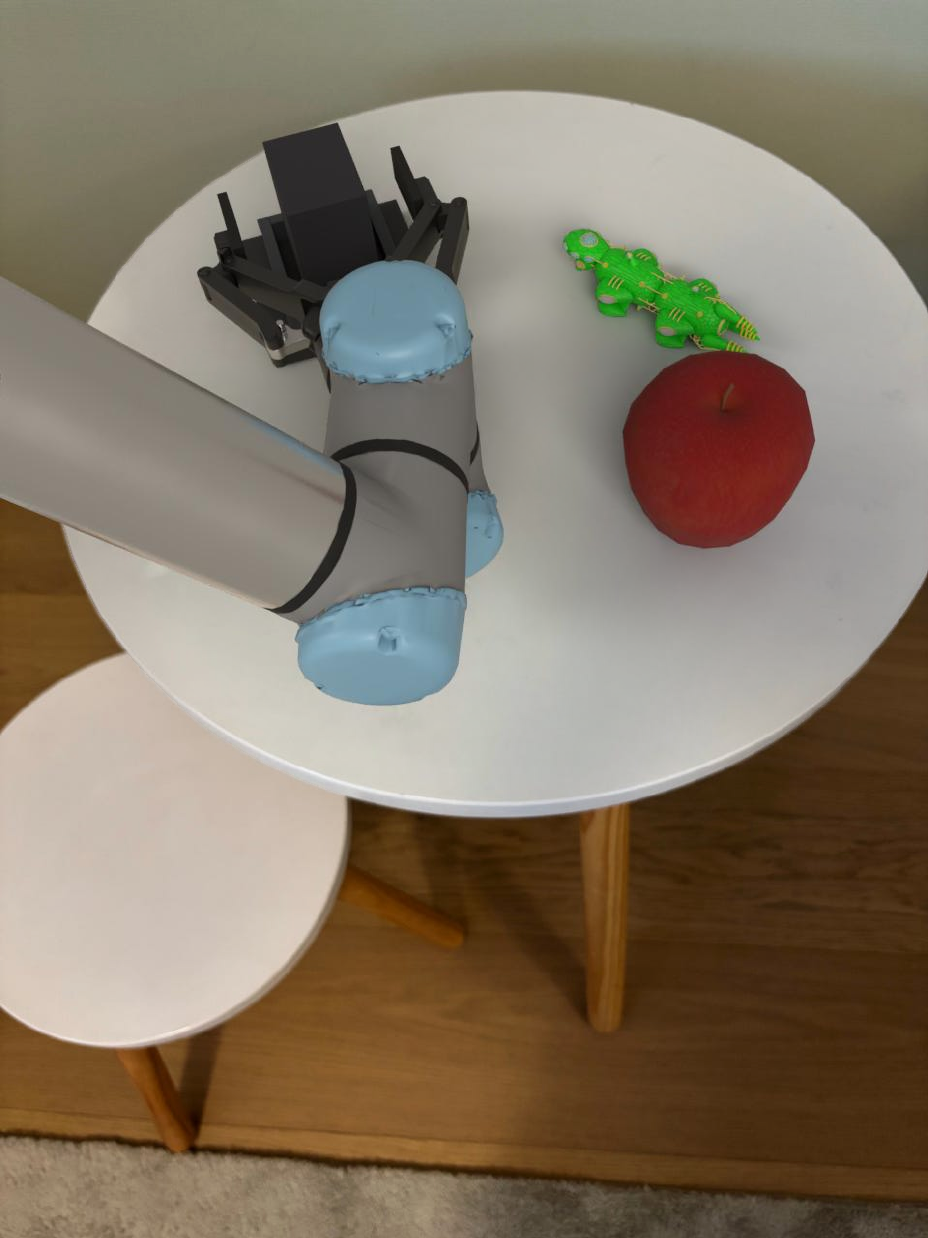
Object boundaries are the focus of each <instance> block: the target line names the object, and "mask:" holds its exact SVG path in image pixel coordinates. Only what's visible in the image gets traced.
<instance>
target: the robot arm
mask: <svg viewBox="0 0 928 1238" xmlns="http://www.w3.org/2000/svg"><path fill="white" fill-rule="evenodd" d="M389 148H390V156H391V157H390V158H391V164H392V169H393V176H394V180H395V182H396V184H397V187H398V190H399V192H400V195H401V196H402V198H403V201H404V203H405V205H406V208H407V210H408V212H409V215H410V217H411V219H412V222H411V224H410V225H409V227H408V231H407V232H406V234H405V235H404V237H403V238H402V240H401V242H400V243H399V245H398V246H397V248H396V250H395V251H394V253H393V254H392V256H387V257H386V258H385V260H384V261H379V262H375V263H371V264H368V265H366V266H363V267H360V268H358V269H356V270H354V271H352V272H351V273H349V274H347V275H346V276H345V277H343V278H342V279H337V280H333V281H329V282H327V286H325V287H322V286H320V285H317V284H315V283H313V282H310V281H308V280H305V279H302V280H301V281H300V282H298V281H296V280H293V279H291V278H289V277H286V276H284V275H281V274H279V273H277V272H274V271H272V270H269V269H267V268H265V267H262V266H260V265H257V264H255V263H253V262H250V261H248V259H247V256H246V253H245V249H244V246H243V243H242V240H243V239H242V236H241V233H240V229H239V226H238V223H237V219H236V217H235V213H234V210H233V208H232V204H231V201H230V198H229V195H228V192H227V191H223V192H219V193H216V197H217V200H218V203H219V206H220V210H221V214H222V217H223V220H224V223H225V227H226V229H225V230H222V231H218V232H215V233H214V235H213V241H214V245H215V248H216V255H217V258H218V263H217V264H216V265H215V266H213V267H212V266H209V265H205V266H202V267H199V269H198V270H197V271H196V276H197V278H198V281H199V283H200V287H201V289H202V292H203V294H204V296H205V299H206V301H207V302H208V304H210V305H211V306H212V307H213V308H215V310H217V311H218V312H220V313H221V314H222V315H223V316H225V317H226V318H227V319H229V320H230V321H231V322H232V323H233V324H235V325H236V326H237V327H238V328H240V330H241V331H243V332H244V333H246V334H247V335H248V336H249V337H250V338H252V339H253V340H254V341H255V342H256V343H258V344H260V346H262V347H263V348H264V349H265V351H266V352H267V355H268V356H269V359H270V361H271V363H272V365H273V366H274V367H275V366H276V367H275V368H285V367H286V366H288V365H289V364H288V363H289V361H290V360H289V356H288V355H289V354H292V353H295V352H297V351H300V350H303V349H305V348H309V349H311V350H312V351H313V352H315V353H316V355H317V356H316V358H317V360H318V363H319V366H320V369H321V372H322V376H323V378H324V381H325V384H326V387H327V391H328V393H329V395H330V397H329V405H328V410H327V418H326V419H327V421H326V427H325V434H324V435H325V436H324V442H323V450H322V451H323V452H322V451H319V450H317V449H316V448H314V447H312V446H310V445H309V444H307V443H306V442H303V441H301V440H299V439H298V438H295V437H293V436H292V435H290V434H288V433H286V432H285V431H283V430H281V429H279V428H278V427H276V426H274V425H272V424H270V423H268V422H267V421H265V420H263V419H261V418H259V417H257V416H256V415H254V414H252V413H250V412H248V411H247V410H246V409H244V408H241V407H239V406H237V405H235V404H234V403H232V402H230V401H229V400H227V399H225V398H223V397H221V396H219V395H218V394H216V393H214V392H212V391H210V390H208V389H206V388H205V387H203V386H201V385H199V384H198V383H196V382H194V381H192V380H190V379H188V378H186V377H185V376H184V375H181V374H180V373H178V372H176V371H173V370H172V369H171V368H168V367H167V366H165V365H163V364H161V363H159V362H158V361H156V360H154V359H152V358H151V357H149V356H147V355H145V354H143V353H141V352H140V351H137V350H136V349H134V348H133V347H130V346H128V345H126V344H125V343H123V342H121V341H120V340H118V339H116V338H114V337H113V336H111V335H108V334H107V333H105V332H103V331H101V330H99V329H98V328H96V327H94V326H92V325H91V324H89V323H87V322H86V321H83V320H81V319H80V318H78V317H76V316H74V315H73V314H70V313H69V312H67V311H65V310H63V309H62V308H60V307H58V306H56V305H54V304H53V303H50V302H49V301H47V300H45V299H44V298H42V297H40V296H37V295H36V294H34V293H32V292H31V291H29V290H27V289H25V288H23V287H21V286H20V285H18V284H16V283H15V282H12V281H10V280H9V279H7V278H5V277H3V276H1V275H0V499H3V500H5V501H7V502H9V503H12V504H15V505H17V506H19V507H22V508H24V509H26V510H28V511H31V512H32V513H36V514H38V515H41V516H43V517H44V518H47V519H49V520H51V521H52V520H53V521H55V522H57V523H59V524H62V525H64V526H66V527H68V528H71V529H74V530H76V531H78V532H81V533H83V534H85V535H88V536H90V537H93V538H95V539H97V540H100V541H102V542H104V543H107V544H109V545H111V546H114V547H116V548H119V549H121V550H124V551H126V552H129V553H131V554H132V555H134V556H137V557H141V558H143V559H145V560H148V561H150V562H152V563H155V564H157V565H159V566H162V567H164V568H167V569H169V570H172V571H173V572H176V573H178V574H180V575H182V576H185V577H187V578H190V579H192V580H195V581H197V582H200V583H202V584H205V585H207V586H209V587H212V588H213V589H216V590H219V591H220V592H223V593H225V594H228V595H230V596H232V597H235V598H237V599H239V600H242V601H245V602H247V603H249V604H251V605H254V606H256V607H259V608H262V609H265V610H267V611H269V612H271V613H272V614H275V615H276V616H279V617H281V618H283V619H285V620H287V621H290V622H292V623H295V624H296V625H297V626H298V629H297V631H296V633H295V636H294V642H295V643H297V658H296V659H297V666H298V668H299V671H300V673H301V674H302V676H303V677H304V679H305V680H308V681H310V682H312V683H313V684H314V685H313V686H314V687H315V688H316V689H317V690H319V691H320V692H322V693H323V694H325V695H326V696H329V697H330V698H334V699H337V700H339V701H342V702H347V703H352V704H357V705H364V706H374V707H375V706H377V707H389V706H403V705H407V704H411V703H416V702H420V701H422V700H424V699H425V698H426V697H428V696H431V695H434V694H437V693H439V692H441V691H442V690H444V689H445V688H446V687H447V685H449V684H450V683H451V681H452V680H453V679H454V677H455V674H456V672H457V670H458V667H459V664H460V656H461V649H462V639H463V632H464V622H465V615H466V611H467V608H468V598H467V594H466V579H468V578H470V577H473V576H474V575H476V574H477V573H479V572H481V571H482V570H483V569H485V567H487V566H488V565H489V564H490V563H491V562H492V561H493V560H494V558H495V557H496V556H497V555H498V554H499V551H500V549H501V547H502V545H503V542H504V538H505V530H504V525H503V522H502V519H501V516H500V513H499V509H498V507H497V505H498V499H497V497H496V494H494V493H492V491H491V489H490V487H489V485H488V482H487V479H486V475H485V471H484V465H483V456H482V455H483V454H482V445H481V436H480V435H481V434H480V430H479V425H478V420H477V408H476V407H477V406H476V393H475V380H474V369H473V355H472V354H473V353H472V343H473V338H474V334H473V332H472V329H470V328H469V323H468V317H467V310H466V304H465V300H464V297H463V295H462V293H461V291H460V289H459V287H458V282H459V277H460V274H461V269H462V264H463V260H464V255H465V251H466V248H467V243H468V238H469V234H470V217H469V207H468V200H467V198H465V197H464V196H457V197H454V198H453V199H451V201H450V202H443V201H442V200H441V199H440V198H438V196H437V193H436V192H435V189H434V187H433V185H432V183H431V181H430V179H429V178H428V177H427V176H425V175H424V176H420V177H416V178H415V176H414V174H413V172H412V170H411V168H410V166H409V163H408V161H407V159H406V157H405V154H404V152H403V150H402V148H401V146H400V145H396V146H393V147H389ZM440 240H441V241H440ZM439 241H440V245H439V248H438V253H437V256H436V261H435V266H432V265H431V264H427V263H426V262H427V260H428V259H429V257H430V255H431V254H432V252H433V250H434V249H435V247H436V245H437V244H438V242H439ZM256 301H257V302H260V303H262V304H264V305H267V306H269V307H271V308H274V309H276V310H278V311H281V312H283V313H285V314H287V315H290V316H292V317H294V318H296V319H298V320H299V321H300V323H301V324H302V326H301V329H298V330H295V329H292V328H290V327H289V326H288V325H285V324H284V321H282V320H278V321H275V320H274V318H273V317H272V315H271V314H270V313H269V312H268V311H266V310H265V309H264V308H263V307H261V306H260V305H259V304H258V303H257V302H256Z"/></svg>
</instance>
